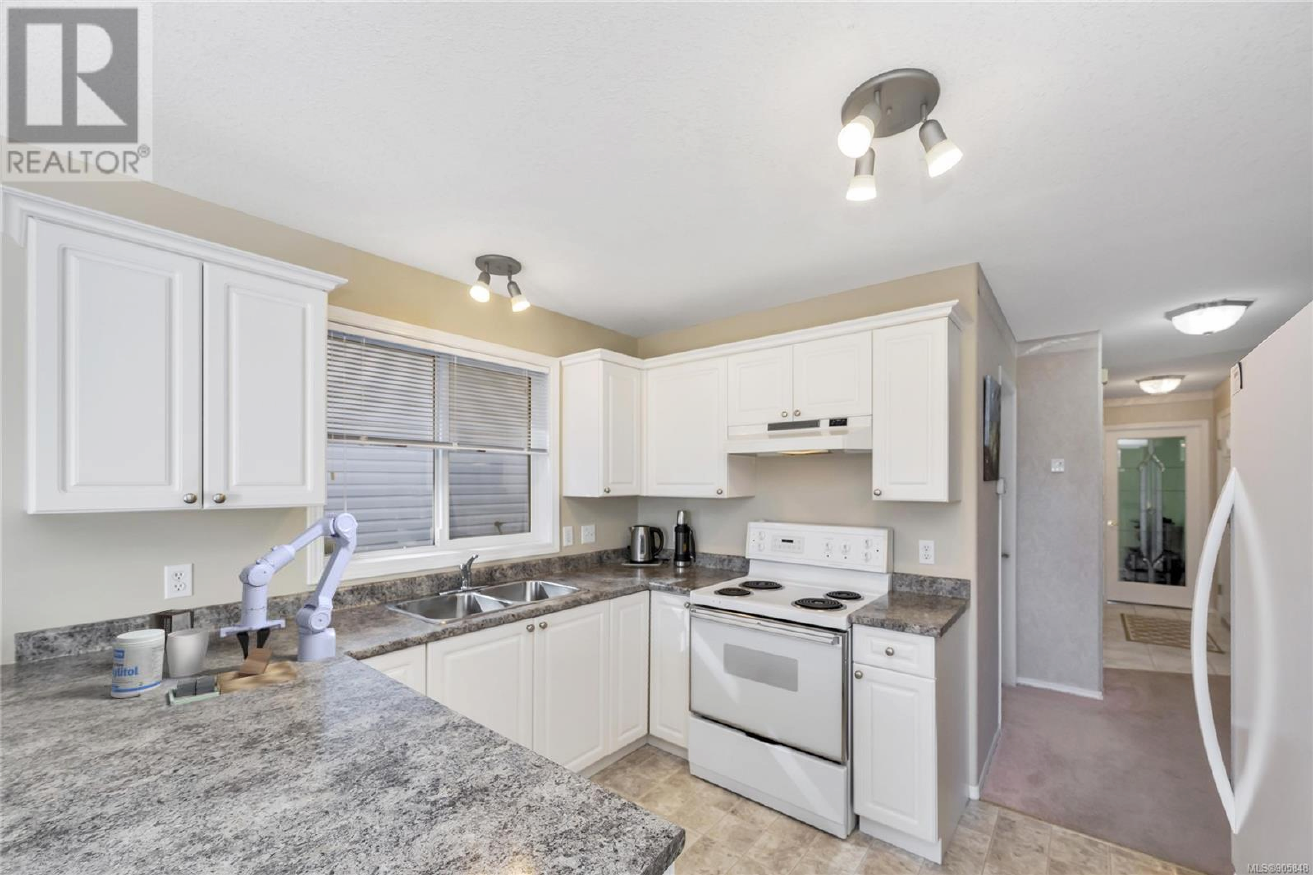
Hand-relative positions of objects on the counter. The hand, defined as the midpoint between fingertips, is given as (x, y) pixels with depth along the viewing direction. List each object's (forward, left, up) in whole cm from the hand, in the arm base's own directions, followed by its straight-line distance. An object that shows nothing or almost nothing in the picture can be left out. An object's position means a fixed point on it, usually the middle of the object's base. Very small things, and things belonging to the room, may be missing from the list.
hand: (252, 658), depth 154 cm
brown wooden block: (+2, +10, -2) cm, 10 cm away
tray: (+13, +9, -5) cm, 16 cm away
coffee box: (+16, -25, -5) cm, 30 cm away
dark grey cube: (+14, +7, -4) cm, 16 cm away
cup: (+13, -13, -5) cm, 19 cm away
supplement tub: (+23, -7, -5) cm, 25 cm away
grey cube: (+11, +8, -4) cm, 14 cm away
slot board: (0, +9, -5) cm, 10 cm away
